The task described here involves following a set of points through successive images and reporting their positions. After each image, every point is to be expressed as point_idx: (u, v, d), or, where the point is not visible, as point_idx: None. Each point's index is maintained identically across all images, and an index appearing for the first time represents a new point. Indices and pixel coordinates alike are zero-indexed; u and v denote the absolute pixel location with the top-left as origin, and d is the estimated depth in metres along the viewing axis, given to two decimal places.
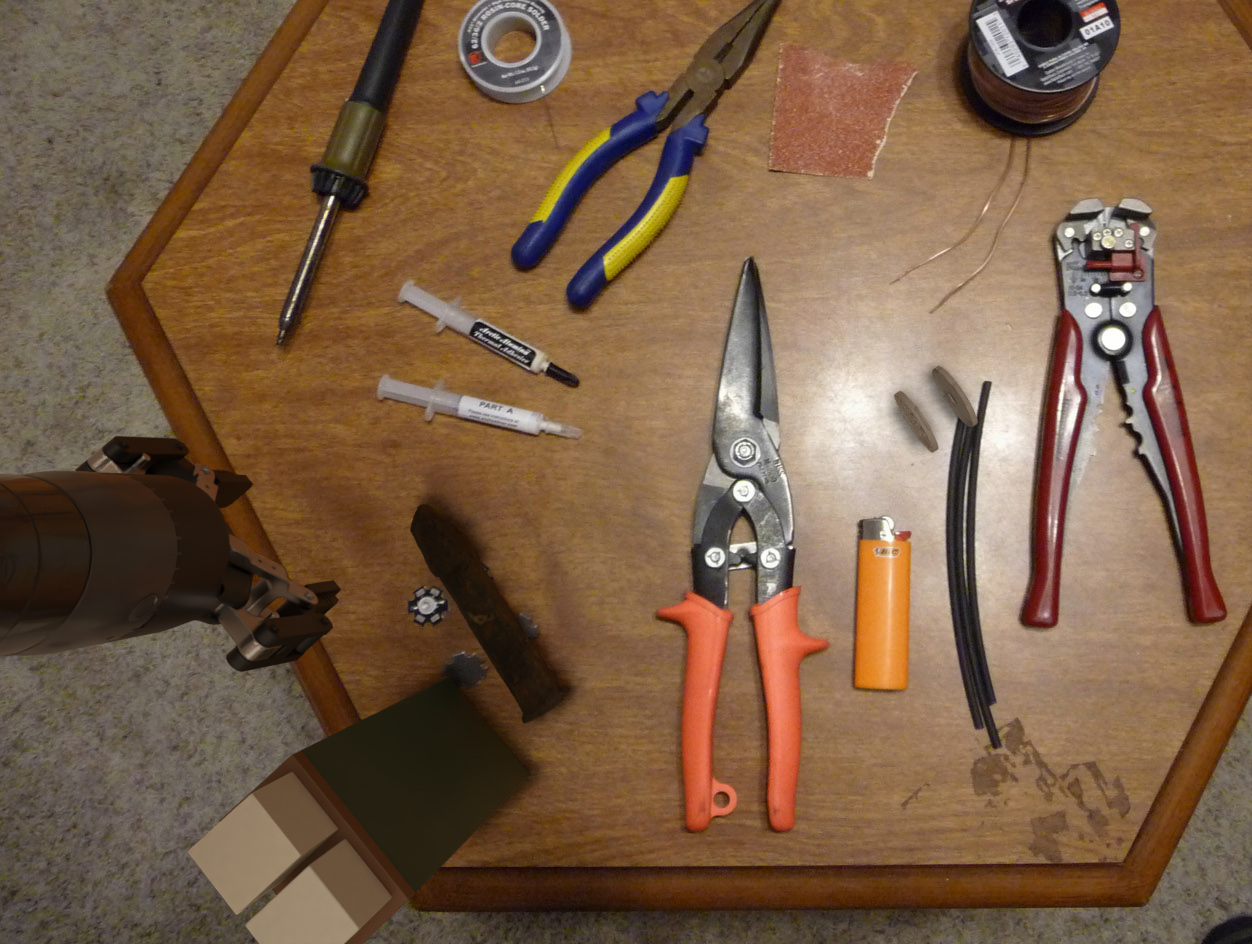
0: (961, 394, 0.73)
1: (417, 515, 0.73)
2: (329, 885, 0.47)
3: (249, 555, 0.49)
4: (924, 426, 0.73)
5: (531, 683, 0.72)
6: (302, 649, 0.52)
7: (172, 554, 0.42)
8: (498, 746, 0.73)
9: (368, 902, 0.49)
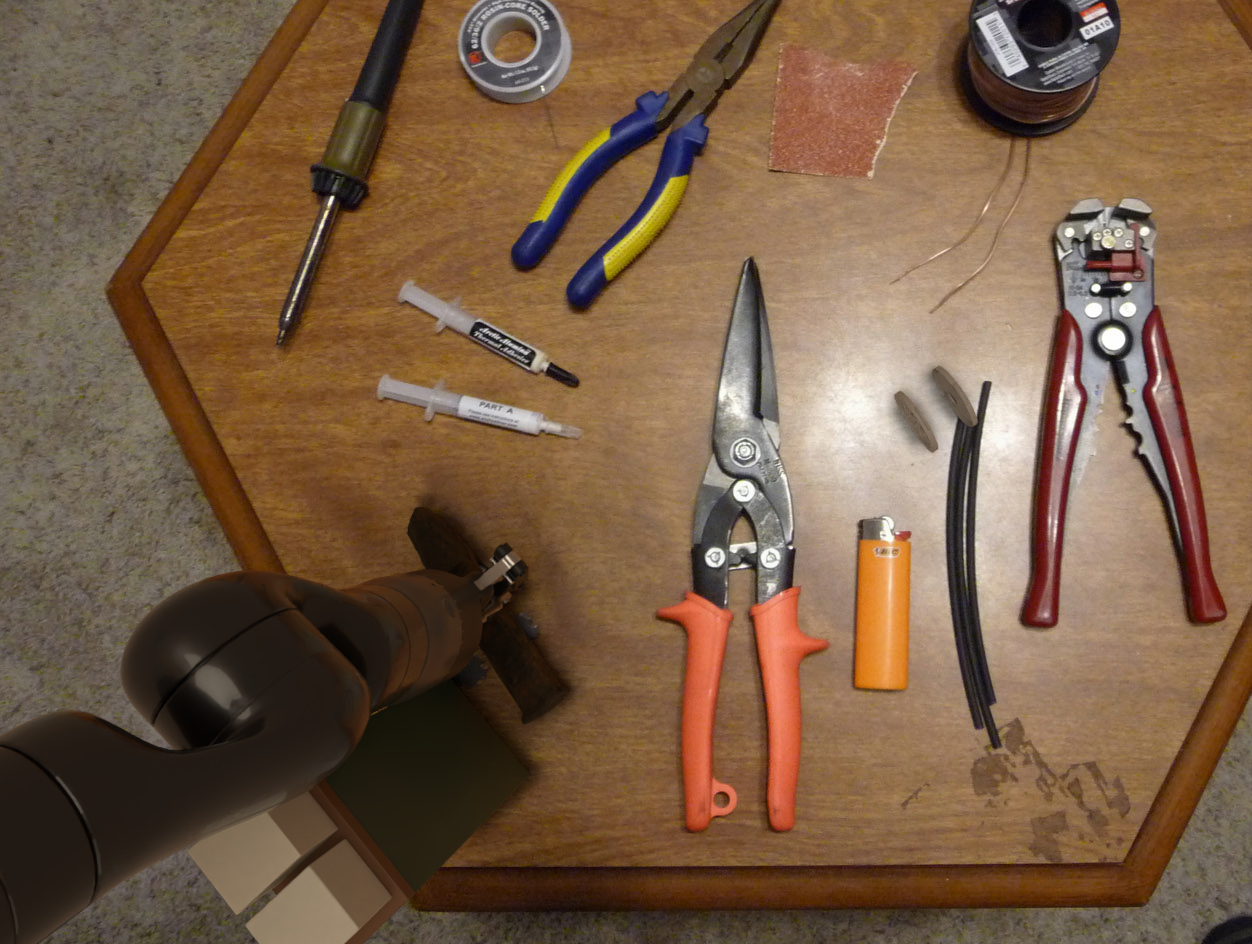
0: (961, 394, 0.73)
1: (414, 517, 0.73)
2: (329, 885, 0.47)
3: None
4: (924, 426, 0.73)
5: (530, 684, 0.72)
6: None
7: None
8: (498, 746, 0.73)
9: (368, 902, 0.49)
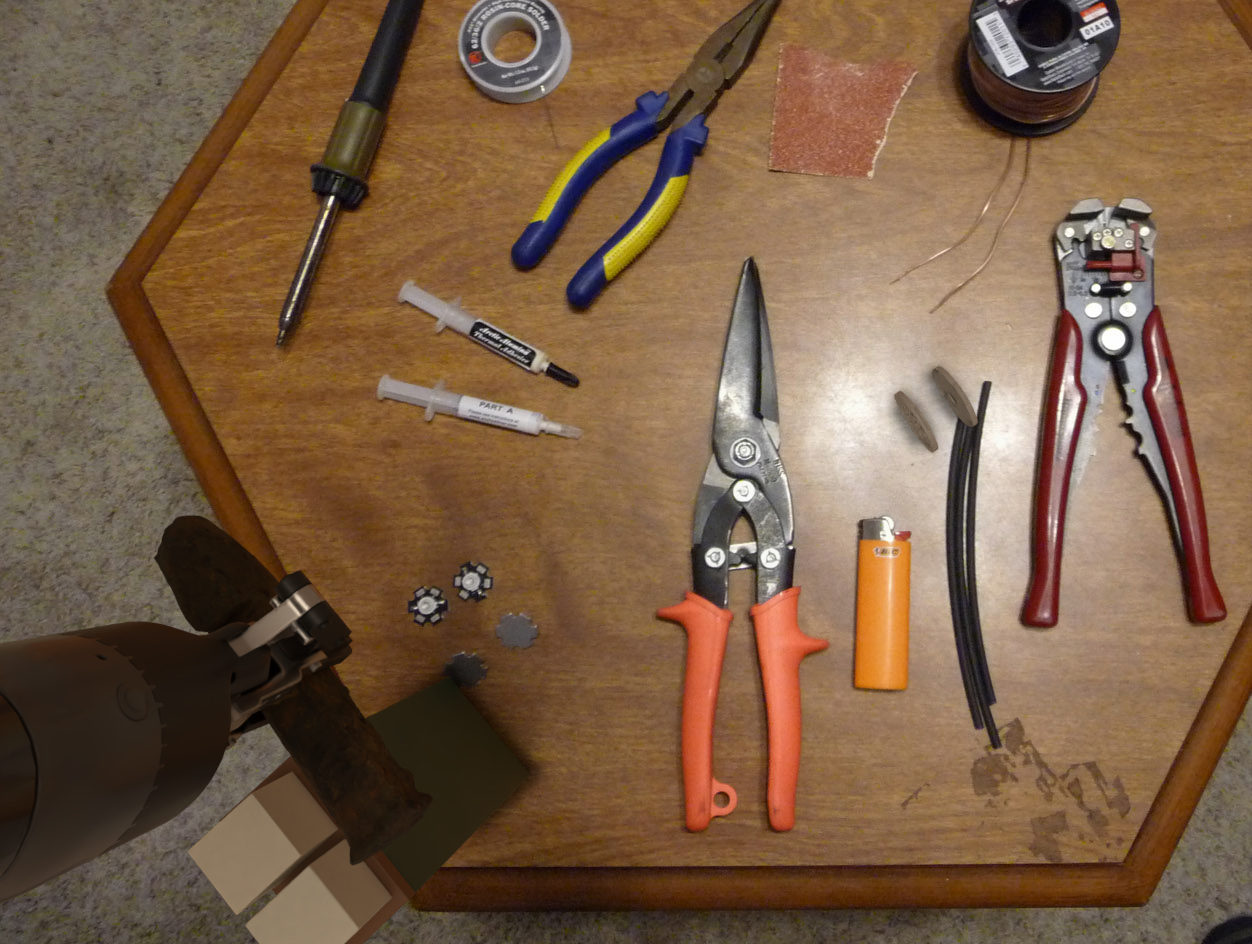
0: (961, 394, 0.73)
1: (166, 532, 0.45)
2: (329, 885, 0.47)
3: None
4: (924, 426, 0.73)
5: (362, 798, 0.44)
6: None
7: None
8: (498, 746, 0.73)
9: (368, 902, 0.49)
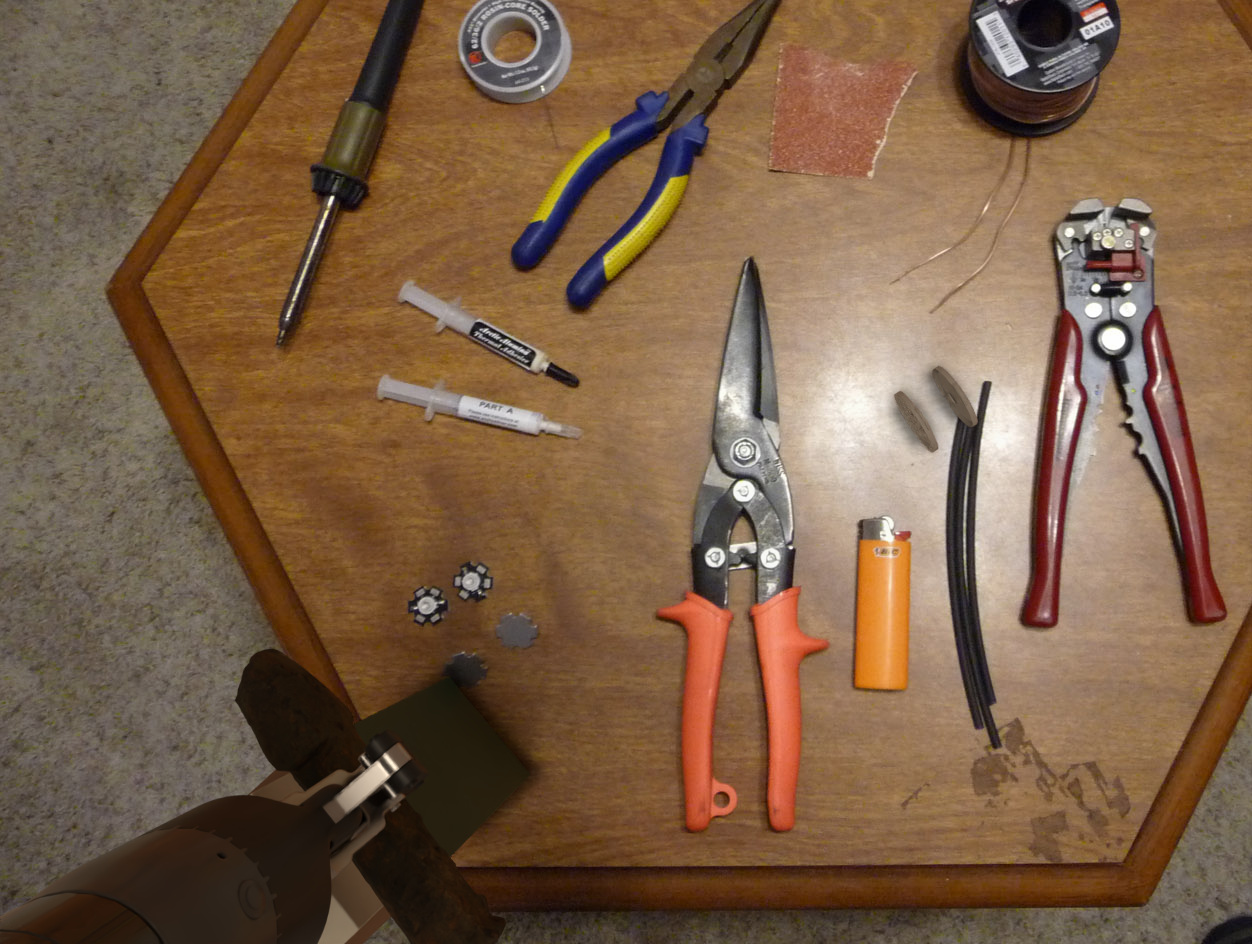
0: (961, 394, 0.73)
1: (246, 674, 0.47)
2: None
3: None
4: (924, 426, 0.73)
5: (442, 930, 0.45)
6: None
7: None
8: (498, 746, 0.73)
9: (368, 902, 0.49)
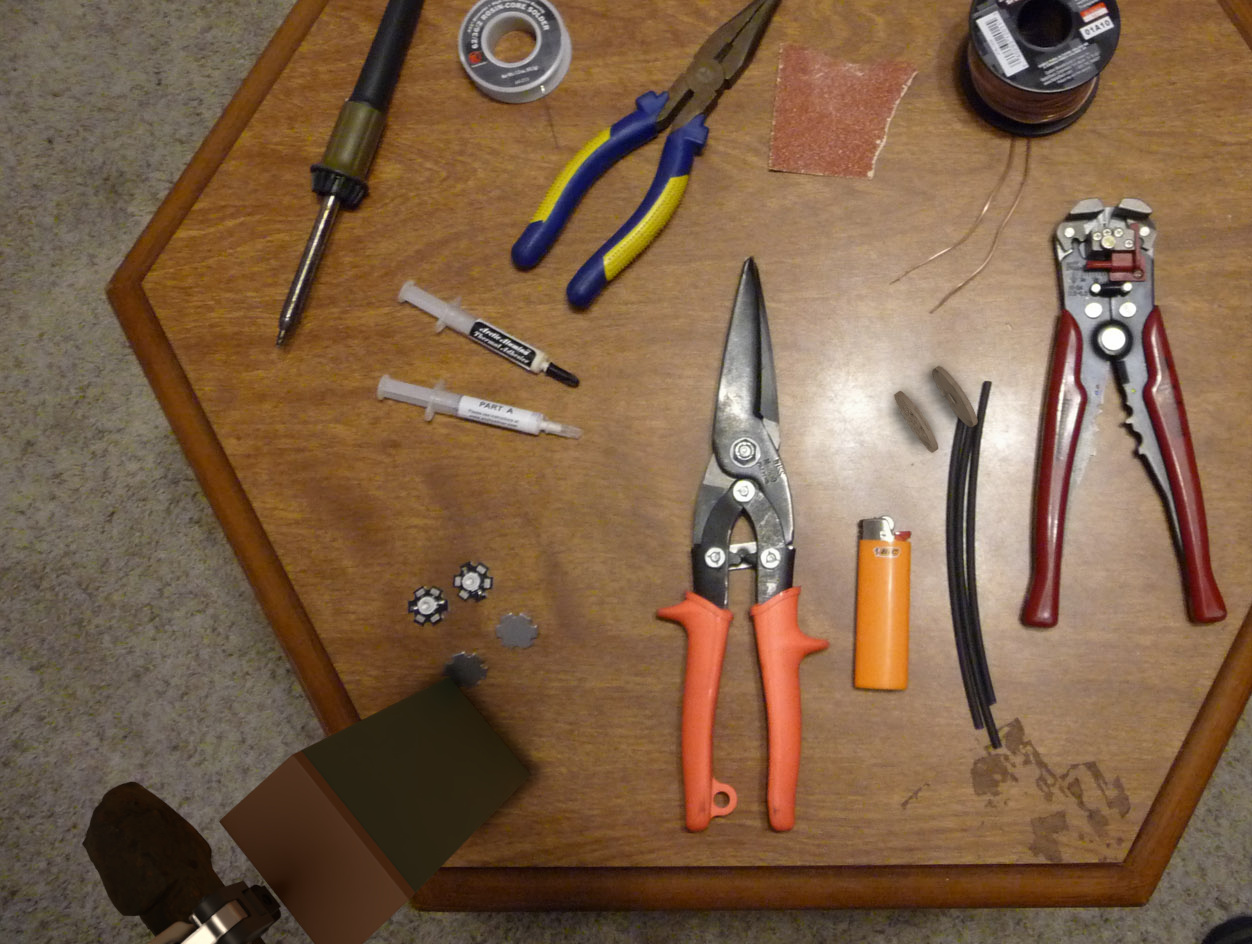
0: (961, 394, 0.73)
1: (94, 816, 0.47)
2: None
3: None
4: (924, 426, 0.73)
5: None
6: None
7: None
8: (498, 746, 0.73)
9: None
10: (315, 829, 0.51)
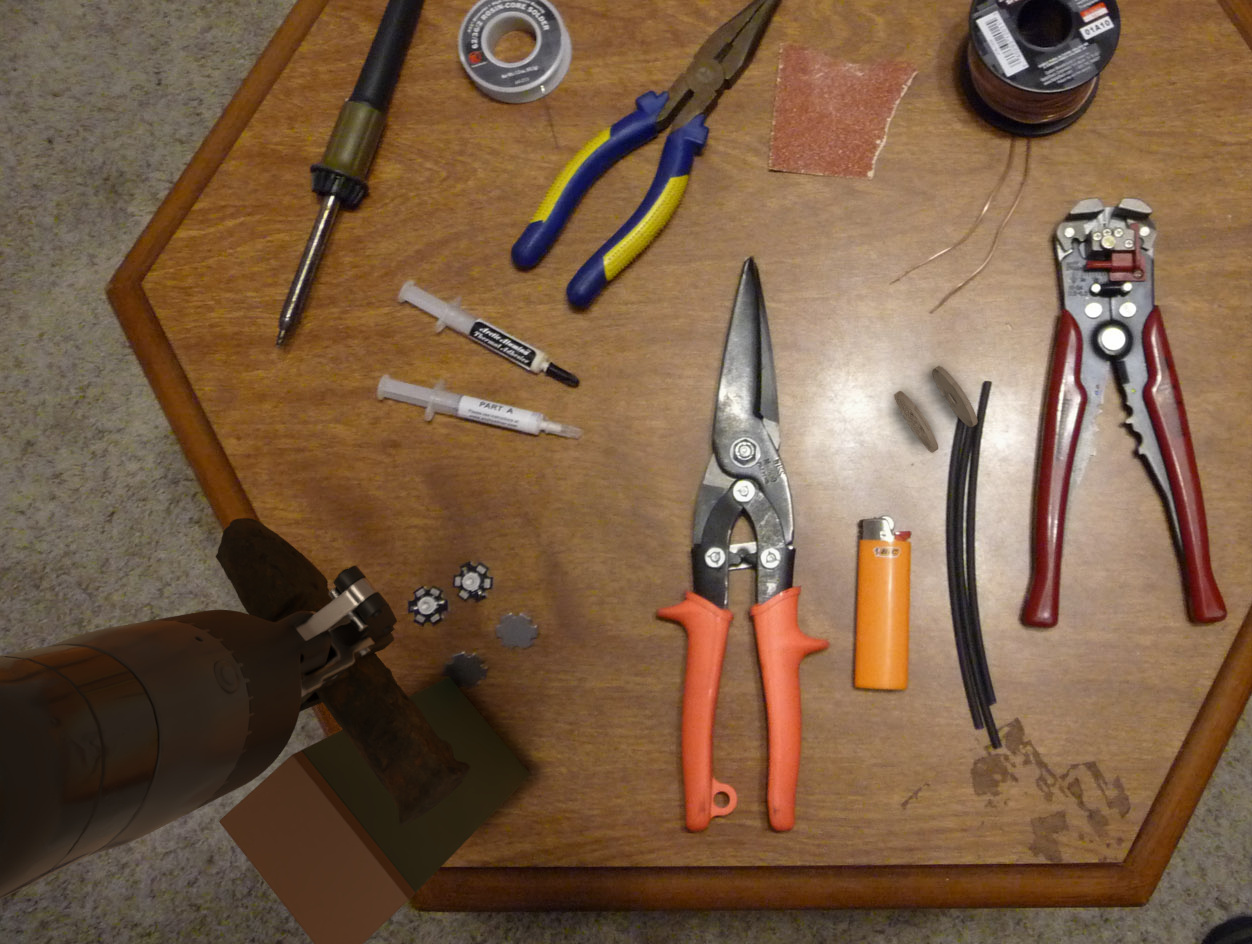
0: (961, 394, 0.73)
1: (226, 533, 0.50)
2: None
3: None
4: (924, 426, 0.73)
5: (408, 766, 0.49)
6: None
7: None
8: (498, 746, 0.73)
9: None
10: (315, 829, 0.51)
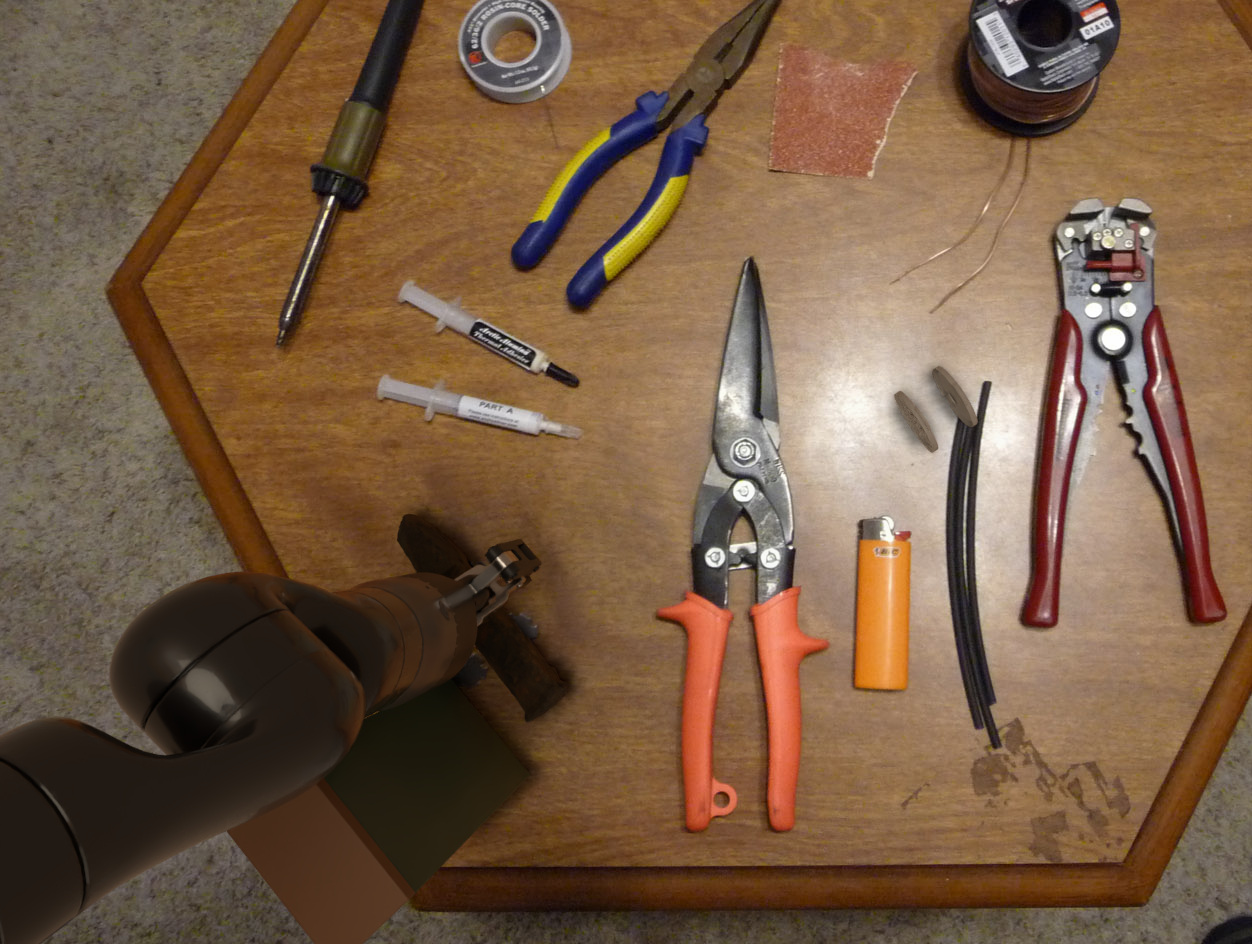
0: (961, 394, 0.73)
1: (403, 524, 0.73)
2: None
3: None
4: (924, 426, 0.73)
5: (531, 682, 0.72)
6: None
7: None
8: (498, 746, 0.73)
9: None
10: (315, 829, 0.51)
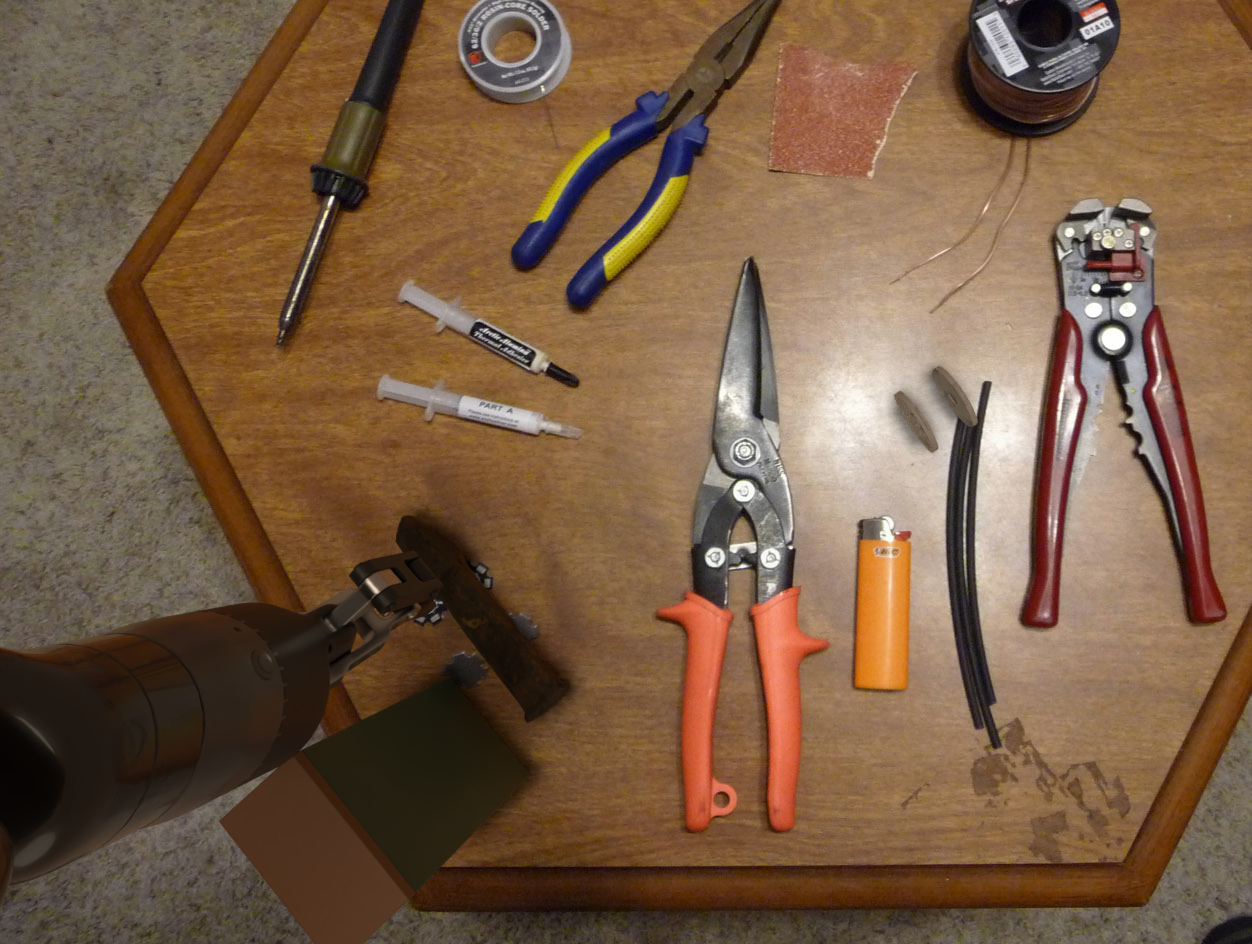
0: (961, 394, 0.73)
1: (401, 525, 0.73)
2: None
3: None
4: (924, 426, 0.73)
5: (531, 682, 0.72)
6: None
7: None
8: (498, 746, 0.73)
9: None
10: (315, 829, 0.51)
